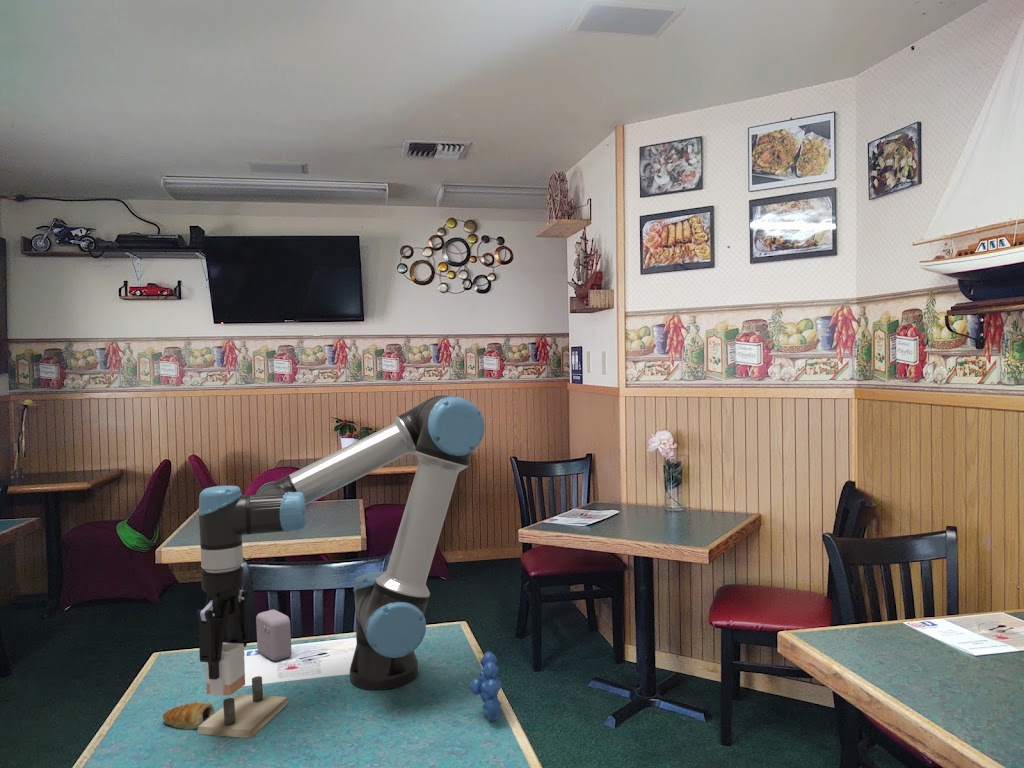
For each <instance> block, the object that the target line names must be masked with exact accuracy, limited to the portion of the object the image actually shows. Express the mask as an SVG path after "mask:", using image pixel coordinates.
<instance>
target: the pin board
mask: <svg viewBox="0 0 1024 768" xmlns="http://www.w3.org/2000/svg"><path fill="white" fill-rule="evenodd" d="M251 688H252V689H251V690H252V691H251V692H252V693H251V694H246V693H245V694H243V693H239V694H237V695H236V696H235V697H234V698H233V697H227V698H225V699H223V702H222V704H223V705H222V707H221V708H220V709H219V710H217V711H216V712H214V714H213V715H212V716H211V717H210V718H208V719H207V720H206V721H204V722H203V723H202V724H201V725H199V726H198V729H197V730H198V735H203V736H204V735H207V736H218V737H219V736H220V737H229V738H230V737H233V738H245V739H247V738H248V739H251V738H253V736H254V735H256V734H257V733H258V732H259V730H261V729H262V728H263V727H265V725H266V724H267V723H269V721H271V720H272V719H273V718H274V717H276V716H277V715H278V714H279V712H281V711H282V710H283V709H284V708H285V707H286V706H287V705H288V697H287V696H277V695H276V696H275V695H264V693H263V692H264V691H263V688H264V687H263V677H262V676H261V675H259V676H254V677H252V678H251Z"/></svg>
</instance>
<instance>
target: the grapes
mask: <svg viewBox="0 0 1024 768" xmlns="http://www.w3.org/2000/svg"><path fill="white" fill-rule="evenodd" d="M497 661H498V659H497V657H496V655H495V654H494V653H493V652H491V651H489V650H487V651H486V652H485V653H484V654H483V655H482V657H481V659H480V661H479V664H481V667H482V669H481V671H479V674H478V676H479V677H476V676H475V677H474V678H473V679H472V680H471V682H470V684H469V685H468V689H469V690H470V691H471V693H472V694H473V695H475V696H479V697H480V700H482V702H483V705H482V709H483V710H484V711H483V713H484V715H485V716H486V718H487V719H488V720H489V721H492V722H494V721H496V720H497V718H498V717H499V716H500V714H501V711H502V710H501V709H500V707H501V705H502V702H501V701H500V700H499V698H498V695H499V691H500V690H501V688H502V687H503V683H502V680H500V678H498V677H497V674H498V673H499V671H500V669H499V667H498V666H497V665H496V662H497Z"/></svg>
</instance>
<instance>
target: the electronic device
mask: <svg viewBox="0 0 1024 768" xmlns="http://www.w3.org/2000/svg"><path fill="white" fill-rule="evenodd" d="M255 622H256V623H255V624H256V625H255V626H256V641H257V643H256V644H257V651H258V653H260V654H261V655H263V656H265V657H266V658H268V659H270V660H271V661H274V662H278V661H281V660H285V659H287V658H290V657H291V656H292V634H291V632H292V631H291V620H290V618H289V616H288V615H286V614H284V613H283V612H280V611H278V610H276V609H275V608H273V609H270V610H266V611H262V612H259V613H257V615H256V617H255Z"/></svg>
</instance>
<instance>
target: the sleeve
mask: <svg viewBox="0 0 1024 768" xmlns="http://www.w3.org/2000/svg"><path fill="white" fill-rule="evenodd" d="M221 660H224V676H225V694H224V695H223V696H232V695H233V694H234V693H235V692H237V691H238V690H240V689H241V688H242V687H244V686H245V685H246V671H245V670H246V669H245V665H246V664H245V647H244V644H240V643H229V642H223V645H222V654H221ZM205 679H206V680H205V681H206V682H205V684H206V694H207V695H210V680H209V669H208V662H205Z"/></svg>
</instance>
